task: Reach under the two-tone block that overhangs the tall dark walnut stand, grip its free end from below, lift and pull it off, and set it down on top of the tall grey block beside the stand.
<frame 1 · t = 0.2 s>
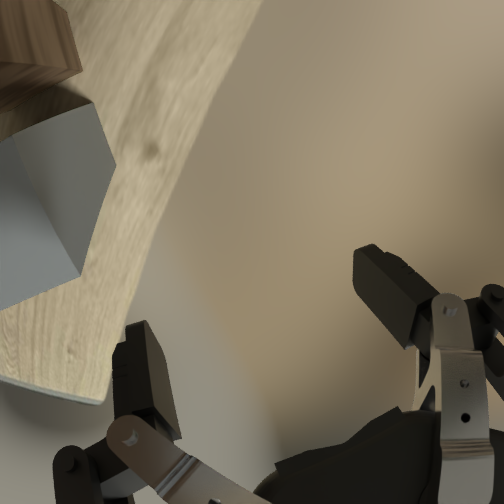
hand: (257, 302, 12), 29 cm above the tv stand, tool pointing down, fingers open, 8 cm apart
tall grey block: (66, 151, 31), on the tv stand
tall stand: (35, 60, 25), on the tv stand
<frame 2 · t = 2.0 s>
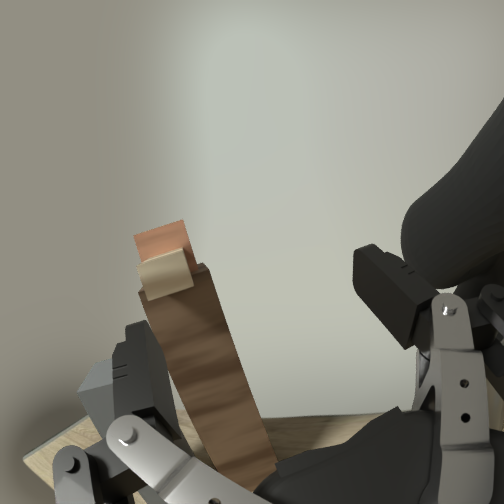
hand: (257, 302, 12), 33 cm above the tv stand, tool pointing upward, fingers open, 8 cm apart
tall grey block: (179, 489, 40), on the tv stand
tall stand: (251, 469, 42), on the tv stand
two-tone block: (173, 281, 34), point 32 cm above the tv stand, touching tall stand
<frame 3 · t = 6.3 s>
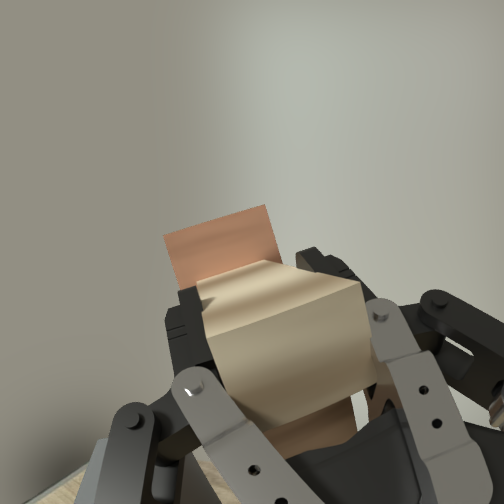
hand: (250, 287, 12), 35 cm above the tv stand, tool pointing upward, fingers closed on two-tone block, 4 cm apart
two-tone block: (256, 333, 16), point 32 cm above the tv stand, touching gripper, tall stand
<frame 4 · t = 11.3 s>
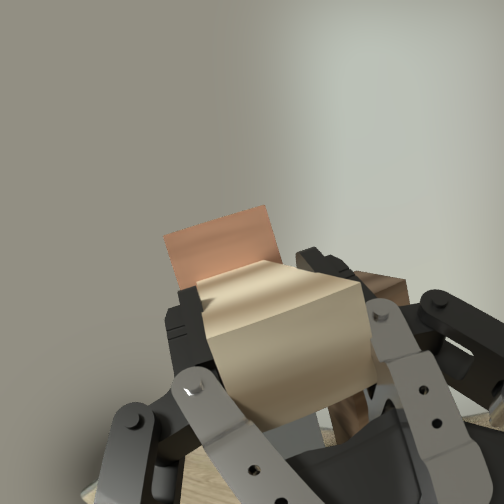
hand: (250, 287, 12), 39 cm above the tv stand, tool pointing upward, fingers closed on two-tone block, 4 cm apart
tall stand: (382, 484, 35), on the tv stand
two-tone block: (256, 334, 16), point 36 cm above the tv stand, touching gripper
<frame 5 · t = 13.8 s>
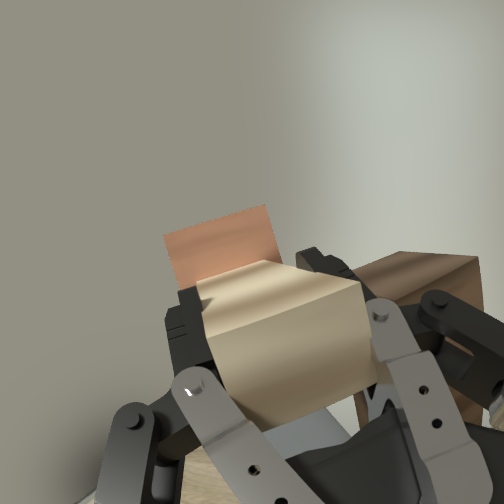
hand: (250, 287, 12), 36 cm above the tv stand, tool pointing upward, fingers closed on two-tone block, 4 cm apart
two-tone block: (256, 333, 16), point 33 cm above the tv stand, touching gripper
when the fingers open (27 cm above the tv stand, at t = 16.1 s): two-tone block stays where it is, resting on tall grey block.
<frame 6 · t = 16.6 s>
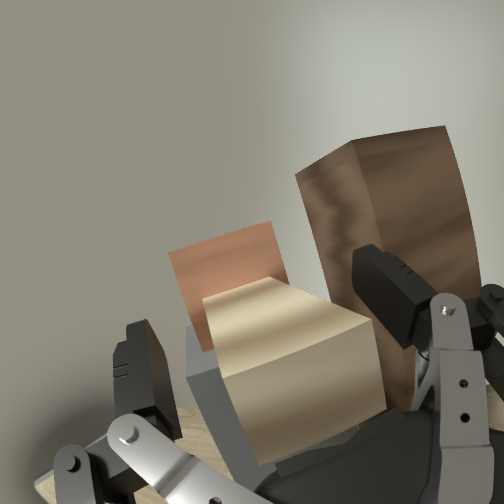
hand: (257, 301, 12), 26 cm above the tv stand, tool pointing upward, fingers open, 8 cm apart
tall stand: (418, 472, 25), on the tv stand
two-tone block: (263, 352, 16), point 23 cm above the tv stand, touching tall grey block
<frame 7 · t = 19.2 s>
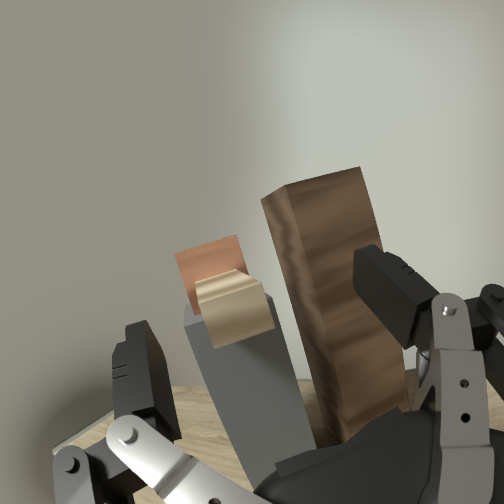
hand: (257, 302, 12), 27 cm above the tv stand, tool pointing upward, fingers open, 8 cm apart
tall grey block: (281, 466, 34), on the tv stand
tall stand: (365, 429, 36), on the tv stand
two-tone block: (229, 312, 27), point 23 cm above the tv stand, touching tall grey block
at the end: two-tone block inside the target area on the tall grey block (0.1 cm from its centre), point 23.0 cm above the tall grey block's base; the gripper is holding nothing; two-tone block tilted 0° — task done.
